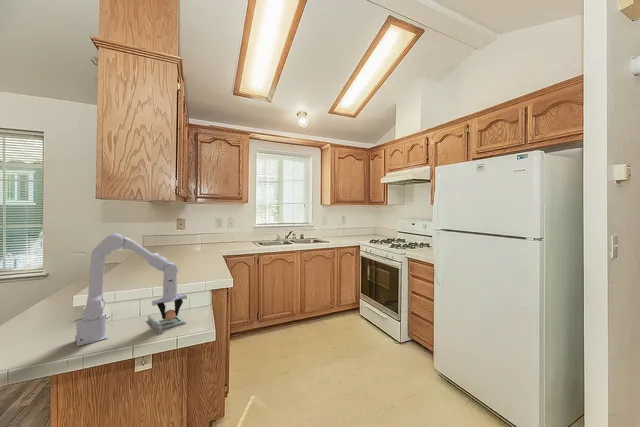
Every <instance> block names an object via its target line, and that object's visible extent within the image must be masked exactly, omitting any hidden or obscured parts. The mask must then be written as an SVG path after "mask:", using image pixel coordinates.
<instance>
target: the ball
mask: <svg viewBox="0 0 640 427" xmlns="http://www.w3.org/2000/svg"><path fill="white" fill-rule="evenodd" d="M175 317H176V312H175V309H169V310H165V320H167V321H171V320H173V319H174V318H175Z"/></svg>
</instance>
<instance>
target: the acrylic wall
mask: <svg viewBox="0 0 640 427" xmlns="http://www.w3.org/2000/svg"><path fill="white" fill-rule="evenodd" d="M147 317H148V318H147V320H148V322H149V324H150V325H151V326H152V327H153V328H154V329H155V330H156V332H157V333H158V334H159V335H162V334H163V330H162V327H161V326H160V325H159V324H158V323H157V321H158V320H156V319H155V318H154V317H153V316H152V315H151V314H148V316H147Z"/></svg>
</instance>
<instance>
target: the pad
mask: <svg viewBox="0 0 640 427" xmlns="http://www.w3.org/2000/svg"><path fill="white" fill-rule="evenodd" d="M156 321H157V323H158V324H159V325H160V326H161V327H162V331H164V330H167V329H171V328H175V327H179V326H183V325H186V324H187V323H186V321H185V320H183V319H182V318H181V317H180V316H179V315H178V316H176V317H175V318H174V319H173V320H171V321H167V320H165V319H162V318H161V319H160V320H156Z"/></svg>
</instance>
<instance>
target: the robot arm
mask: <svg viewBox="0 0 640 427" xmlns="http://www.w3.org/2000/svg"><path fill="white" fill-rule="evenodd" d="M120 248H122V250H127V251H128V250H130V251H133V252H134V253H135V254H138V255H139V256H140V257H142V258H144V259H146V260H147V264H148V265H150V266H151V267H153V268H155V269H156V270H158V271H161V272H163V279H162V297H161V298H157V299H154V300H151V305H152V306H153V307H155V306H157V308H158V309H159V311H160V315H161V320H162V319H165V312H166V305H165V304H166V303H171V302H174V311H175V312H176V316H179V311H180V309H181V306H182V305H183V302H184V300H187V299H188V295H187V294H186V293H184V294H178V288H177V287H178V277H177V276H178V272H179V269H178V267H177V265H176V263H174V262H173V261H172V260H171V259H167V258H166V257H164V256H163V254H162V253H158V252H155V253H152V252H151V251H149V250H148V249H147V248H145V247H144V246H142V245H141V244H139V243H138V242H136V241H135V240H133V239H132V238H129V237H128V236H124V235H123V234H121V233H118V232H115V233H111V234H110V235H109V234H108V236H106V237H105V238H103V239H102V240H101V242H99V243H98V245H96V246H95V247H94V248H93V250H91V254H90V265H89V267H90V268H89V278H88V279H89V282H88V291H87V292H88V294H87V299H86V306H85V308H84V309H83V311H82V319H79V320H76V322H75V323H76V324H75V327H76V329H75V331H76V333H75V341H76V345H77V347H79V346H83V345H87V344H90V343H91V344H92V343H95V342H98V341H99V342H100V341H103V340H106V339H108V337H109V336H108V334H107V330H106V329H107V328H106V324H107V323H106V319H107V318H106V314H105V313H104V312H103V309H104V307H105V301H104V300H103V294H104V280H105V266H106V256H108V255H110V253H112V252H115V251H117V250H120Z"/></svg>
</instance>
